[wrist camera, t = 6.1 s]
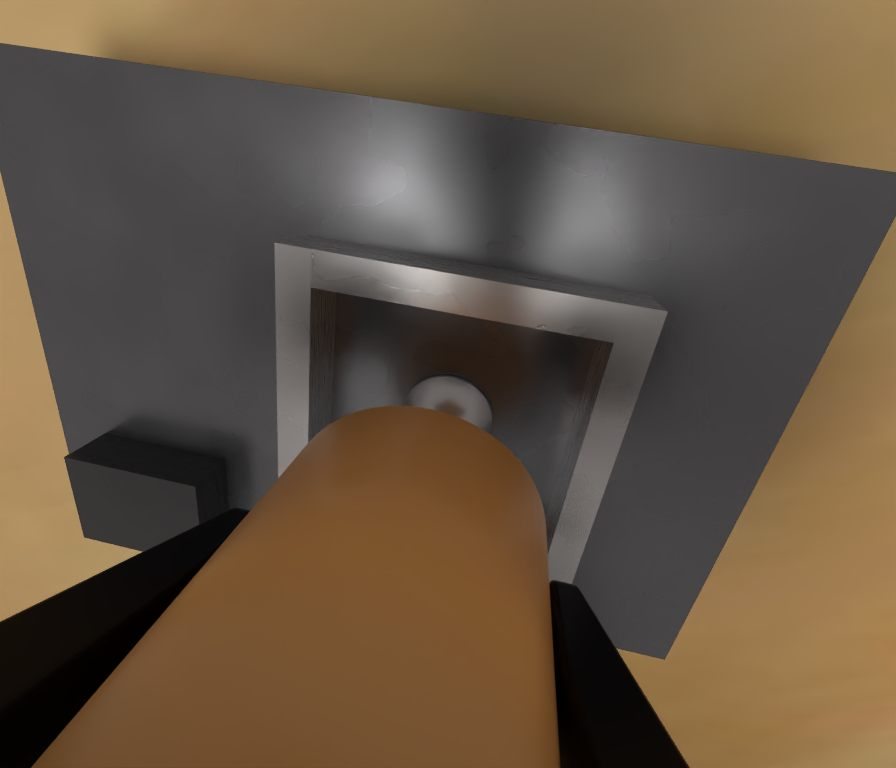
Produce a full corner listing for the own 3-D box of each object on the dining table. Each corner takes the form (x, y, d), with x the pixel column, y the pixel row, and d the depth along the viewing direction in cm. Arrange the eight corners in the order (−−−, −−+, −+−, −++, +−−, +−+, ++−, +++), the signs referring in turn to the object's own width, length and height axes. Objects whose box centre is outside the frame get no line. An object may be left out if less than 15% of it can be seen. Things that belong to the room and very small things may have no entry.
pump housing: (576, 438, 7) (881, 1921, 1) (497, 699, 10) (451, 1527, 4) (289, 380, 8) (-715, 1197, 1) (289, 646, 10) (-57, 1319, 4)
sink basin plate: (811, 178, 12) (991, 173, 7) (639, 573, 18) (679, 709, 13) (100, 73, 13) (-118, 15, 9) (158, 466, 19) (44, 552, 15)
